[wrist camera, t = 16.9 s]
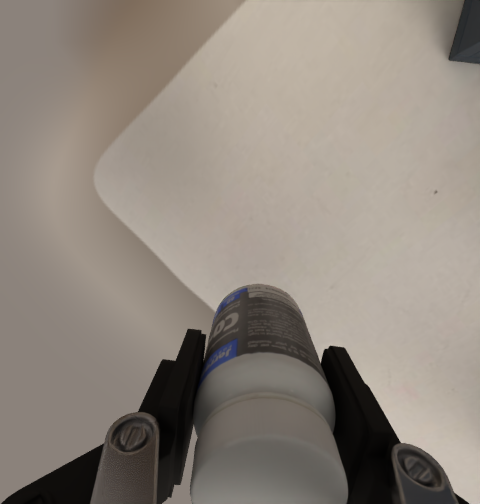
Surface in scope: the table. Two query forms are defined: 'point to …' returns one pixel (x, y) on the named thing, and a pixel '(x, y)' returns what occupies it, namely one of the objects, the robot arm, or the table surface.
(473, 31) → the chest
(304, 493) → the pill bottle
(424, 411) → the table surface
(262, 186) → the table surface
